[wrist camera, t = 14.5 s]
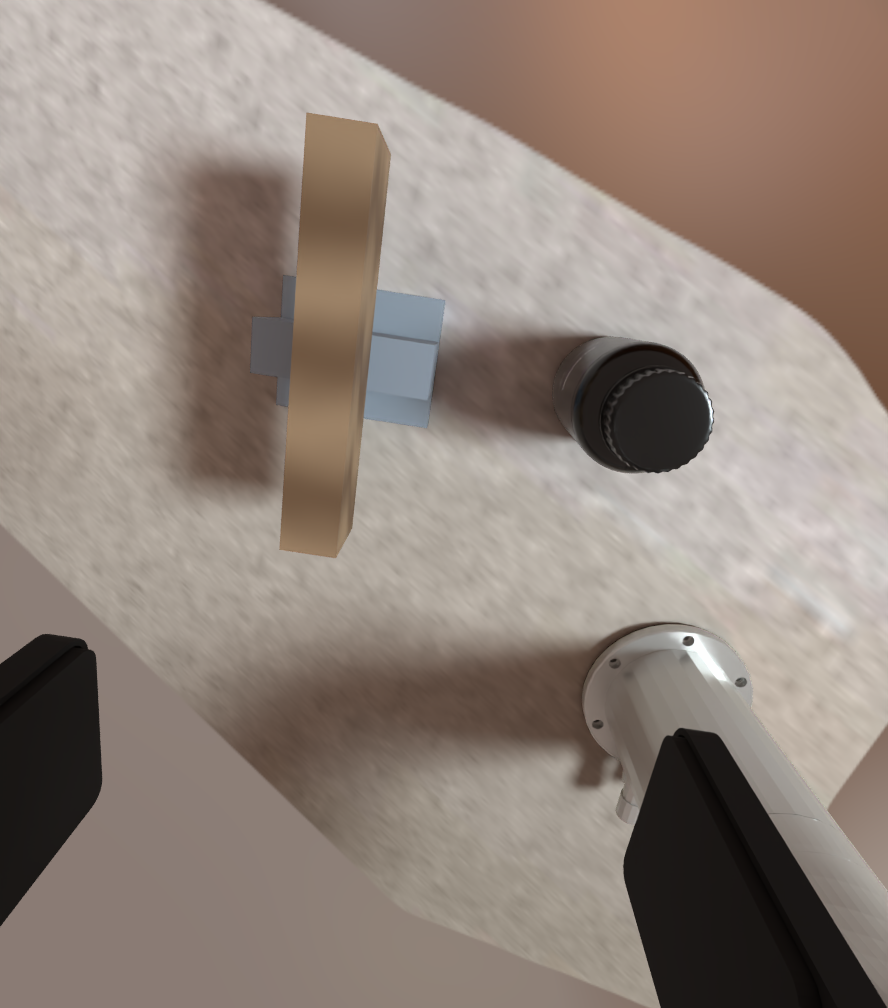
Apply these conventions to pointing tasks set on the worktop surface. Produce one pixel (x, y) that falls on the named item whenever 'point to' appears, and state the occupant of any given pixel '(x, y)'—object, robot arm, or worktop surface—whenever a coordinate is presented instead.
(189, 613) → the worktop surface
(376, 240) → the walnut bar
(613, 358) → the supplement bottle
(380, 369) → the fulcrum
